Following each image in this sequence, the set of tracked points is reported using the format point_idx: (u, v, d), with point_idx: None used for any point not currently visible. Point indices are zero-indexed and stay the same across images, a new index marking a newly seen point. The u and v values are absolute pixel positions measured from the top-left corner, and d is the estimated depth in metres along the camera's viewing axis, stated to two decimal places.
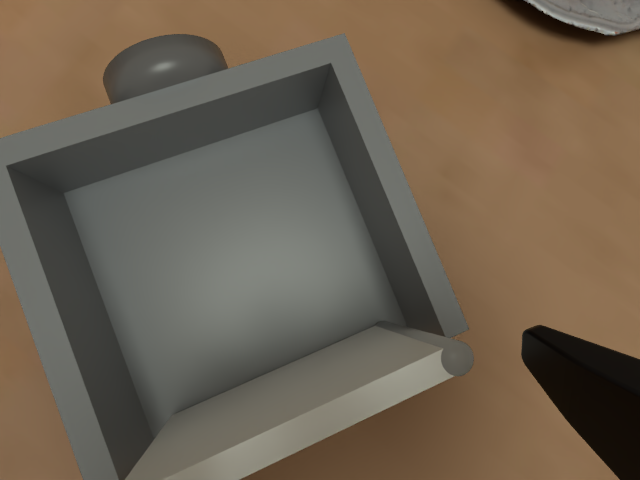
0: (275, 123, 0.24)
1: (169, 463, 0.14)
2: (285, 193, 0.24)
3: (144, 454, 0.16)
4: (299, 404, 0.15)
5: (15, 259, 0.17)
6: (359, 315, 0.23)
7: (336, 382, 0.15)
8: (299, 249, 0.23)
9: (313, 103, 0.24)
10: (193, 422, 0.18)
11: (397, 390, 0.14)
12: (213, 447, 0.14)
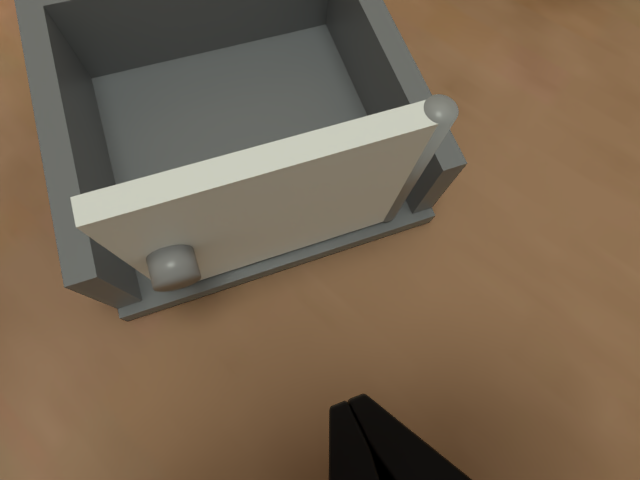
0: (286, 34, 0.26)
1: None
2: (291, 88, 0.25)
3: None
4: None
5: (35, 73, 0.18)
6: None
7: None
8: None
9: (321, 14, 0.26)
10: None
11: (377, 129, 0.14)
12: None
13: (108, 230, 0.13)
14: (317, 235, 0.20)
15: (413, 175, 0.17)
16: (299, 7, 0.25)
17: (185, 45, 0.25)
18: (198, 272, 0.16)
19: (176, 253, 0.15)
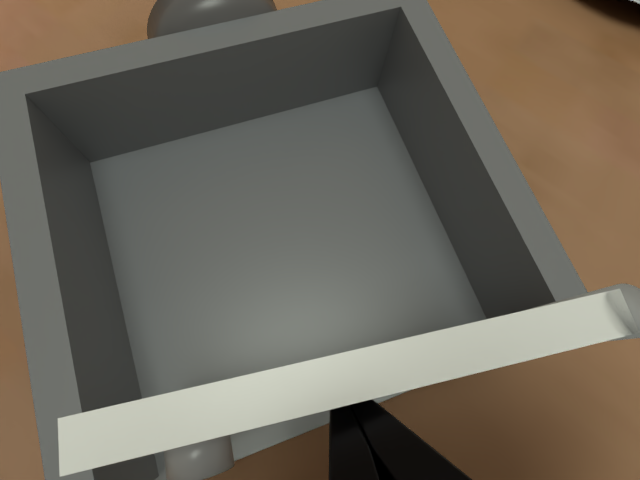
0: (330, 100, 0.21)
1: None
2: (339, 172, 0.20)
3: None
4: None
5: (14, 195, 0.14)
6: (431, 320, 0.18)
7: None
8: (356, 236, 0.19)
9: (373, 76, 0.21)
10: None
11: (533, 338, 0.09)
12: None
13: None
14: None
15: None
16: (349, 71, 0.20)
17: (207, 120, 0.20)
18: (232, 463, 0.11)
19: (205, 441, 0.11)
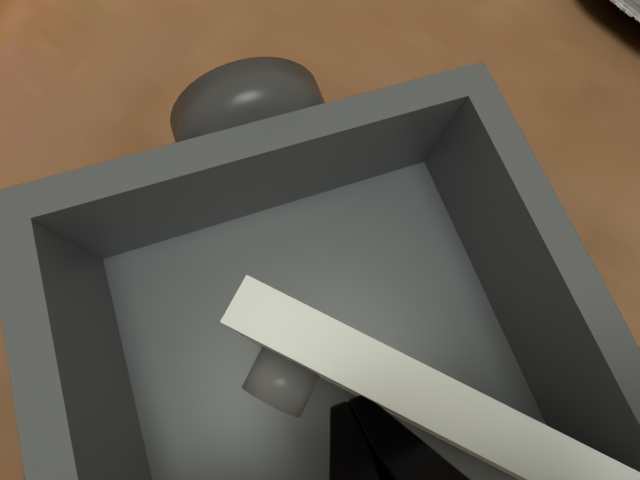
0: (372, 178, 0.19)
1: None
2: (385, 267, 0.18)
3: None
4: None
5: (21, 354, 0.11)
6: None
7: None
8: (406, 345, 0.17)
9: (422, 154, 0.19)
10: None
11: None
12: None
13: (252, 338, 0.08)
14: (450, 443, 0.15)
15: None
16: (398, 154, 0.17)
17: (237, 210, 0.17)
18: (300, 414, 0.11)
19: (298, 379, 0.11)
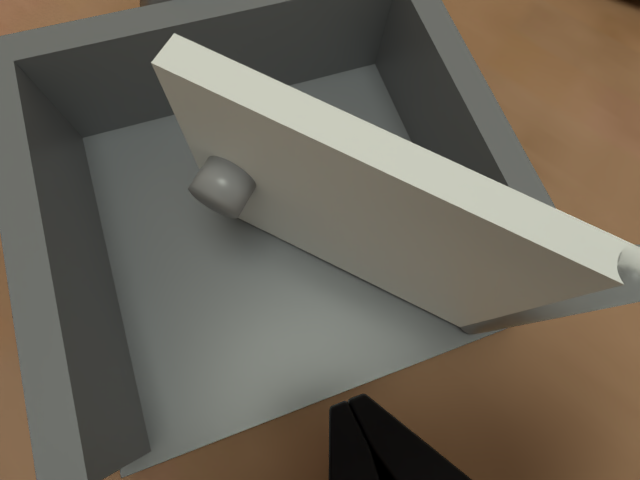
0: (326, 77, 0.21)
1: None
2: None
3: None
4: None
5: (2, 161, 0.13)
6: None
7: None
8: None
9: (371, 52, 0.21)
10: None
11: (539, 226, 0.09)
12: None
13: (181, 94, 0.10)
14: (383, 280, 0.17)
15: (534, 313, 0.12)
16: (346, 46, 0.20)
17: None
18: (237, 210, 0.13)
19: (233, 175, 0.13)
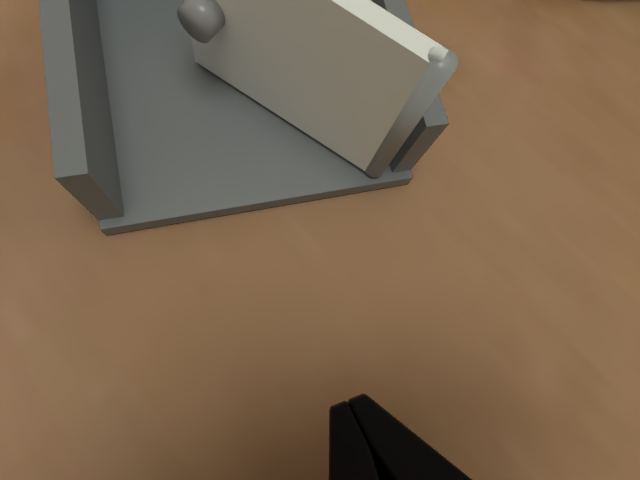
0: None
1: None
2: None
3: None
4: None
5: None
6: None
7: None
8: None
9: None
10: None
11: (387, 25, 0.15)
12: None
13: None
14: (311, 123, 0.23)
15: (398, 121, 0.18)
16: None
17: None
18: (209, 31, 0.19)
19: (210, 4, 0.18)
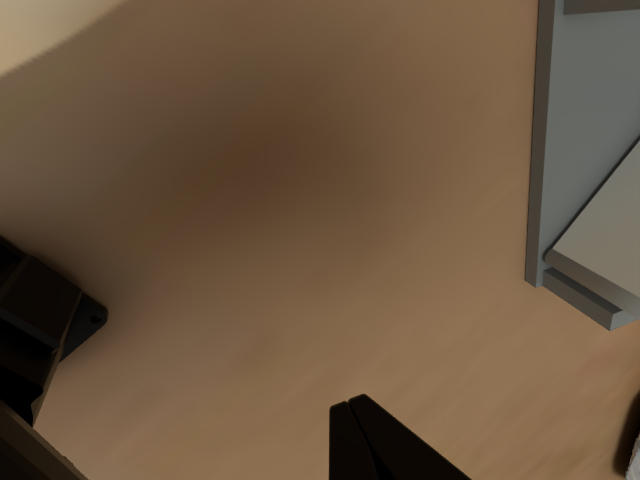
0: None
1: None
2: None
3: None
4: None
5: None
6: None
7: None
8: None
9: None
10: None
11: None
12: None
13: None
14: (611, 203, 0.24)
15: (630, 296, 0.21)
16: None
17: None
18: None
19: None
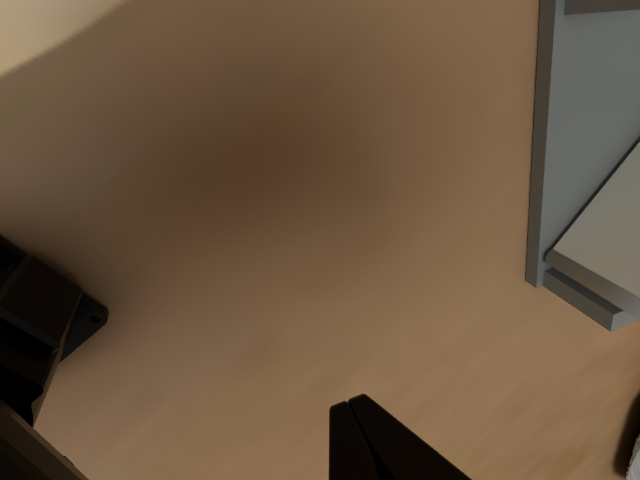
0: None
1: None
2: None
3: None
4: None
5: None
6: None
7: None
8: None
9: None
10: None
11: None
12: None
13: None
14: (612, 204, 0.24)
15: (631, 296, 0.21)
16: None
17: None
18: None
19: None
